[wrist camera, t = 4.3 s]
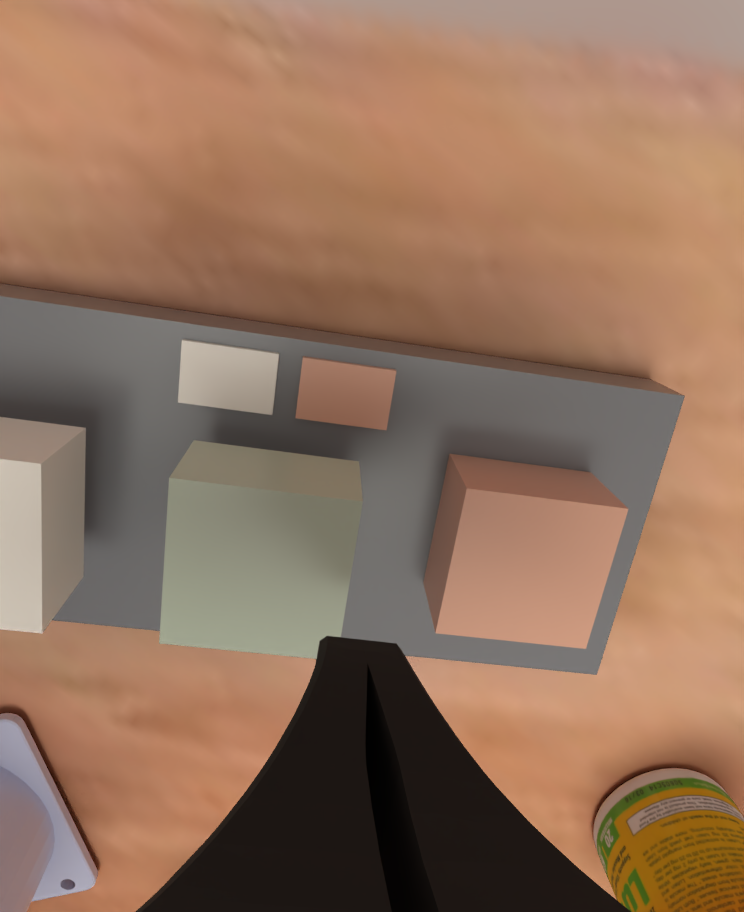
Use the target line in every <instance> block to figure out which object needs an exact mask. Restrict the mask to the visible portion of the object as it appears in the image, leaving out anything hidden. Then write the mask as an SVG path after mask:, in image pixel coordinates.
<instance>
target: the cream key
mask: <svg viewBox="0 0 744 912" xmlns="http://www.w3.org/2000/svg"><path fill="white" fill-rule="evenodd" d="M85 447H86V428H83V427H76V426H68V425H60V424H52V423H44V422H37V421H29V420H21V419H13V418H6V417H0V629H2V630H12V631H22V632H32V633H43V632H44V630H45V629H46V628H47V626H48V625H49V624H50V622H51V621H52V619H53V618H54V617H55V615H56V614H57V612H58V611H59V610H60V608H61V607H62V605H63V604H64V603H65V601H66V600H67V599H68V597H69V596H70V594H71V593H72V592H73V590H74V589H75V587H76V586H77V585H78V583H79V582H80V581H81V579H82V578H83V575H84V511H85Z"/></svg>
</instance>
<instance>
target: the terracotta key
mask: <svg viewBox="0 0 744 912" xmlns="http://www.w3.org/2000/svg"><path fill="white" fill-rule="evenodd" d="M627 512H628V508H627V507H626V506H625V505H624V504H623V503H622V502H621V501H620V500H619V499H618V498H617V497H616V496H615V495H614V494H613V493H612V492H611V491H610V490H609V489H607V488H606V487H605V486H604V485H603V484H602V483H601V482H600V481H599V480H598V479H597V478H596V477H595V476H594V475H593V474H592V473H591V472H585V471H577V470H570V469H562V468H555V467H547V466H539V465H532V464H524V463H517V462H509V461H502V460H494V459H486V458H479V457H471V456H464V455H456V454H449V459H448V464H447V469H446V474H445V478H444V483H443V488H442V493H441V498H440V503H439V508H438V513H437V518H436V523H435V528H434V532H433V537H432V542H431V547H430V552H429V557H428V562H427V567H426V572H425V577H424V582H423V584H424V588H425V592H426V596H427V601H428V605H429V609H430V613H431V617H432V621H433V625H434V629H435V633H437V634H447V635H457V636H466V637H476V638H486V639H495V640H505V641H514V642H524V643H534V644H543V645H553V646H562V647H572V648H582V649H586V647H587V644H588V640H589V637H590V634H591V631H592V627H593V624H594V621H595V617H596V614H597V611H598V608H599V604H600V601H601V598H602V594H603V591H604V588H605V585H606V581H607V578H608V575H609V572H610V568H611V565H612V562H613V558H614V555H615V552H616V549H617V545H618V542H619V539H620V535H621V532H622V529H623V526H624V522H625V519H626V516H627Z"/></svg>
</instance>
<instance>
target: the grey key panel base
mask: <svg viewBox="0 0 744 912" xmlns="http://www.w3.org/2000/svg"><path fill="white" fill-rule="evenodd" d="M683 400H684V395H682V394H680V393H678V392H676V391H674V390H672V389H669V388H667V387H665V386H663V385H661V384H659V383H657V382H655V381H653V380H651V379H644V378H637V377H631V376H624V375H617V374H610V373H604V372H597V371H590V370H583V369H576V368H570V367H563V366H556V365H549V364H543V363H536V362H529V361H522V360H516V359H509V358H502V357H495V356H488V355H482V354H475V353H468V352H461V351H455V350H448V349H441V348H434V347H428V346H421V345H414V344H407V343H401V342H394V341H387V340H380V339H373V338H367V337H360V336H353V335H346V334H340V333H333V332H326V331H319V330H313V329H306V328H299V327H292V326H285V325H279V324H272V323H265V322H258V321H252V320H245V319H238V318H231V317H225V316H218V315H211V314H204V313H197V312H191V311H184V310H177V309H170V308H164V307H157V306H150V305H143V304H137V303H130V302H123V301H116V300H109V299H103V298H96V297H89V296H82V295H76V294H69V293H62V292H55V291H49V290H42V289H35V288H28V287H21V286H15V285H8V284H1V283H0V417H6V418H13V419H21V420H29V421H37V422H44V423H52V424H60V425H68V426H76V427H83V428H86V447H85V511H84V575H83V578H82V579H81V581H80V582H79V583H78V585H77V586H76V587H75V589H74V590H73V592H72V593H71V594H70V596H69V597H68V599H67V600H66V601H65V603H64V604H63V605H62V607H61V608H60V610H59V611H58V612H57V614H56V615H55V617H54V618H53V619H52V620H55V621H65V622H75V623H85V624H95V625H105V626H115V627H125V628H135V629H145V630H155V631H160V621H161V605H162V588H163V571H164V554H165V537H166V521H167V504H168V487H169V477H170V476H171V474H172V473H173V471H174V470H175V468H176V467H177V465H178V464H179V462H180V461H181V459H182V458H183V456H184V455H185V453H186V452H187V450H188V449H189V447H190V445H191V444H192V442H193V441H194V440H196V441H204V442H212V443H220V444H227V445H235V446H243V447H251V448H258V449H266V450H274V451H282V452H290V453H297V454H305V455H313V456H321V457H328V458H336V459H344V460H352V461H359V467H360V477H361V488H362V498H363V504H362V510H361V516H360V522H359V528H358V534H357V541H356V547H355V553H354V559H353V565H352V571H351V577H350V584H349V590H348V596H347V602H346V608H345V614H344V620H343V627H342V633H341V637H343V638H352V639H361V640H370V641H379V642H388V643H397V645H398V646H399V647H400V649H401V650H402V652H403V653H404V655H405V656H415V657H425V658H435V659H445V660H455V661H465V662H475V663H485V664H495V665H505V666H515V667H525V668H535V669H545V670H554V671H564V672H574V673H584V674H594V675H597V672H598V669H599V666H600V663H601V659H602V656H603V653H604V650H605V647H606V644H607V640H608V637H609V634H610V631H611V628H612V625H613V621H614V618H615V615H616V612H617V609H618V606H619V602H620V599H621V596H622V593H623V590H624V587H625V583H626V580H627V577H628V574H629V571H630V568H631V564H632V561H633V558H634V555H635V552H636V549H637V545H638V542H639V539H640V536H641V533H642V530H643V526H644V523H645V520H646V517H647V514H648V511H649V507H650V504H651V501H652V498H653V495H654V492H655V488H656V485H657V482H658V479H659V476H660V473H661V469H662V466H663V463H664V460H665V457H666V453H667V450H668V447H669V444H670V441H671V438H672V434H673V431H674V428H675V425H676V422H677V419H678V415H679V412H680V409H681V406H682V403H683ZM449 454H456V455H464V456H471V457H479V458H486V459H494V460H502V461H509V462H517V463H524V464H532V465H539V466H547V467H555V468H562V469H570V470H577V471H585V472H591V473H592V474H593V475H594V476H595V477H596V478H597V479H598V480H599V481H600V482H601V483H602V484H603V485H604V486H605V487H606V488H607V489H609V490H610V491H611V492H612V493H613V494H614V495H615V496H616V497H617V498H618V499H619V500H620V501H621V502H622V503H623V504H624V505H625V506H626V507H627V508H628V512H627V516H626V519H625V522H624V526H623V529H622V532H621V535H620V539H619V542H618V545H617V549H616V552H615V555H614V558H613V562H612V565H611V568H610V572H609V575H608V578H607V581H606V585H605V588H604V591H603V594H602V598H601V601H600V604H599V608H598V611H597V614H596V617H595V621H594V624H593V627H592V631H591V634H590V637H589V640H588V644H587V647H586V649H582V648H572V647H562V646H553V645H543V644H534V643H524V642H514V641H505V640H495V639H486V638H476V637H466V636H457V635H447V634H437V633H435V629H434V625H433V621H432V617H431V613H430V609H429V605H428V601H427V596H426V592H425V588H424V584H423V582H424V577H425V572H426V567H427V562H428V557H429V552H430V547H431V542H432V537H433V532H434V528H435V523H436V518H437V513H438V508H439V503H440V498H441V493H442V488H443V483H444V478H445V474H446V469H447V464H448V459H449Z"/></svg>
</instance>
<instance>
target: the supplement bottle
mask: <svg viewBox="0 0 744 912" xmlns="http://www.w3.org/2000/svg"><path fill="white" fill-rule="evenodd" d="M593 834H594V842H595V846H596V849H597V852H598V855H599V857H600V860H601V862H602V865H603V867H604V870H605V872H606V874H607V877H608V879H609V882H610V884H611V887H612V889H613V891H614V894H615V896H616V899H617V901H618V902H620V903H621V904H622V905H623V906H625V907H626V908H627V909H628V910H630V911H631V912H744V816H743V815H742V813H741V812H740V811H739V809H738V808H737V806H736V805H735V803H734V802H733V801H732V799H731V798H730V797H729V795H728V794H727V793H726V791H725V790H724V789H723V788H722V787H721V786H720V785H719V784H718V783H717V782H715V781H714V780H713V779H711V778H709V777H708V776H706V775H704V774H701V773H699V772H696V771H692V770H688V769H681V768H666V769H659V770H654V771H650V772H647V773H644V774H641V775H639V776H636V777H634V778H633V779H631V780H629V781H627V782H625V783H624V784H622V785H621V786H620V787H618V788H617V789H616V790H615V791H613V792H612V793H611V794H610V795H609V796H608V797H607V799H606V800H605V801H604V802H603V804H602V805H601V807H600V809H599V811H598V813H597V815H596V818H595V822H594V830H593Z"/></svg>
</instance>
